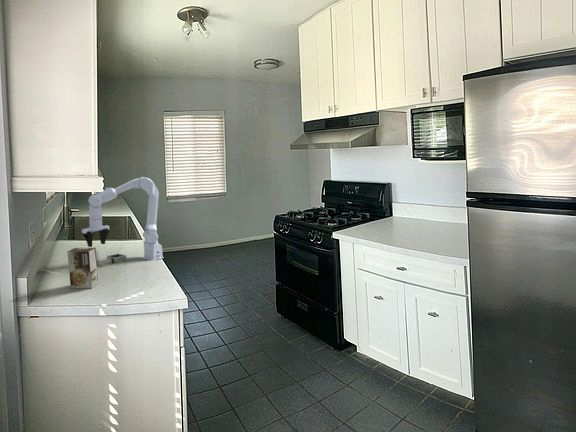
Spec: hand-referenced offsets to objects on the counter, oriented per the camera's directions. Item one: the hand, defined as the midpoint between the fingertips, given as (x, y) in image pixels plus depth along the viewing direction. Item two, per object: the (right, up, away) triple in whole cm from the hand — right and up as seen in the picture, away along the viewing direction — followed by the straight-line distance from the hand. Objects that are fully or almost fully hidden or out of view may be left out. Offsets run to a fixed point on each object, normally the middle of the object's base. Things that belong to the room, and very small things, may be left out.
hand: (96, 245), depth 196 cm
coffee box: (+11, -15, -32) cm, 37 cm away
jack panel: (+4, -10, +4) cm, 11 cm away
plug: (+2, -10, 0) cm, 10 cm away
